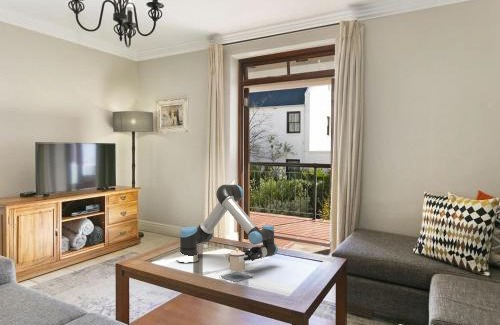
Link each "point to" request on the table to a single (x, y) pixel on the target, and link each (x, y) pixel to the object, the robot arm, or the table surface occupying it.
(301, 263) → the table surface
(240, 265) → the teacup with lid
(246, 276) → the mat
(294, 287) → the table surface
